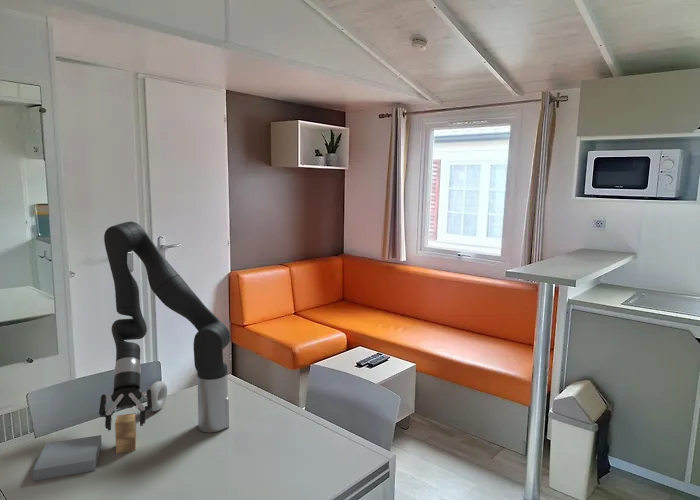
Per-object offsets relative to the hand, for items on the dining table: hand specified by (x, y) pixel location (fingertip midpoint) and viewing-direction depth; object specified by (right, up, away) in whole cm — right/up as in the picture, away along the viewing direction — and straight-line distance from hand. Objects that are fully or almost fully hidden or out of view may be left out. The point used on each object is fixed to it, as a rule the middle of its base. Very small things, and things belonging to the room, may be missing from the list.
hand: (125, 427), depth 138 cm
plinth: (-12, -7, -7) cm, 16 cm away
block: (0, -6, 0) cm, 6 cm away
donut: (-1, -3, +25) cm, 25 cm away
